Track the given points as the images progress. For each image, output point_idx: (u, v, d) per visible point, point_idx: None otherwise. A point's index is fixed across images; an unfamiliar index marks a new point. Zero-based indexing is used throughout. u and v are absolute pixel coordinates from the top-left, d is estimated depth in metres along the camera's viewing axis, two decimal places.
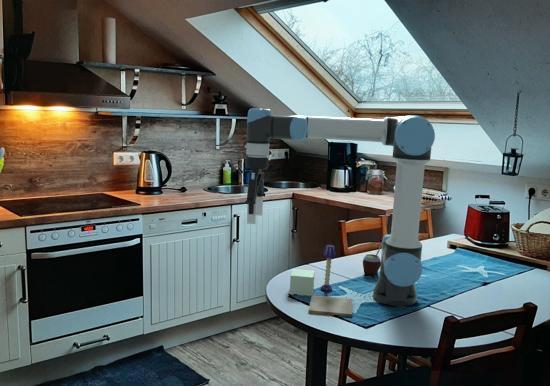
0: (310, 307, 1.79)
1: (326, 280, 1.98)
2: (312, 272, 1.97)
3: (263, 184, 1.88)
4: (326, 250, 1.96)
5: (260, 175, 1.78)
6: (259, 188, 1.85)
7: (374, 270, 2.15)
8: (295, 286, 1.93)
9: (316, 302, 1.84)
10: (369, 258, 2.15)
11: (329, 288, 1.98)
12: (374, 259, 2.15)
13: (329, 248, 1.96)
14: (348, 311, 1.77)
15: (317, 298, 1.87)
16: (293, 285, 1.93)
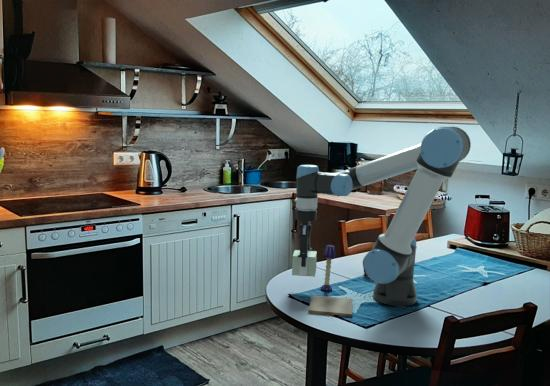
0: (310, 307, 1.79)
1: (326, 280, 1.98)
2: (314, 253, 1.95)
3: None
4: (326, 250, 1.96)
5: (309, 227, 1.91)
6: None
7: None
8: (297, 267, 1.91)
9: (316, 302, 1.84)
10: None
11: (329, 288, 1.98)
12: None
13: (329, 248, 1.96)
14: (348, 311, 1.77)
15: (317, 298, 1.87)
16: (295, 265, 1.91)
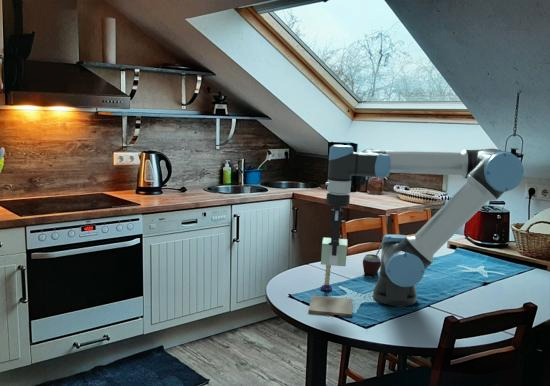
0: (310, 307, 1.79)
1: (326, 280, 1.98)
2: (345, 241, 1.80)
3: None
4: None
5: (341, 213, 1.75)
6: None
7: (374, 270, 2.15)
8: (327, 255, 1.76)
9: (316, 302, 1.84)
10: (369, 258, 2.15)
11: (329, 288, 1.98)
12: (374, 259, 2.15)
13: None
14: (348, 311, 1.77)
15: (317, 298, 1.87)
16: (325, 254, 1.76)
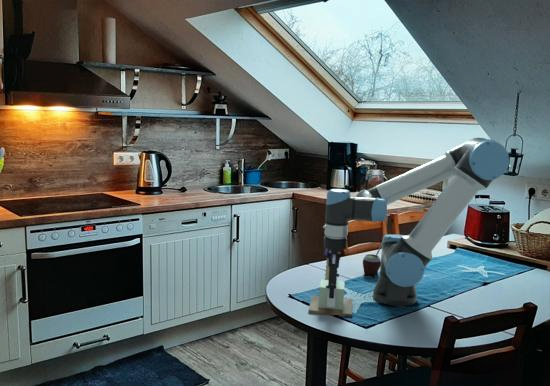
0: (310, 307, 1.79)
1: None
2: (342, 283, 1.83)
3: None
4: (326, 250, 1.96)
5: (339, 256, 1.78)
6: None
7: (374, 270, 2.15)
8: (324, 299, 1.78)
9: (316, 302, 1.84)
10: (369, 258, 2.15)
11: None
12: (374, 259, 2.15)
13: None
14: (348, 311, 1.77)
15: (317, 298, 1.87)
16: (322, 297, 1.78)
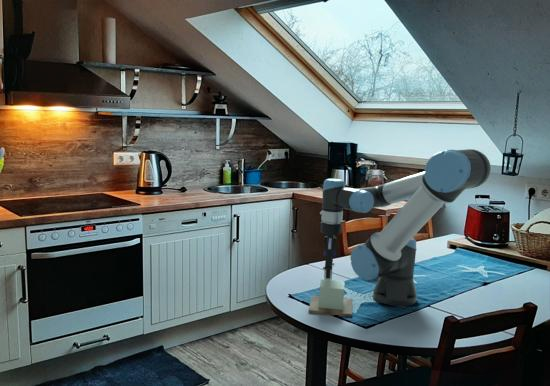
0: (310, 307, 1.79)
1: None
2: (342, 283, 1.83)
3: None
4: None
5: (334, 240, 1.94)
6: None
7: None
8: (324, 299, 1.78)
9: (316, 302, 1.84)
10: None
11: None
12: None
13: None
14: (348, 311, 1.77)
15: (317, 298, 1.87)
16: (322, 297, 1.78)
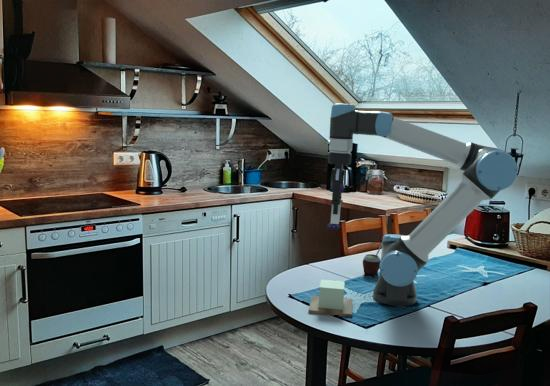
0: (310, 307, 1.79)
1: None
2: (342, 283, 1.83)
3: None
4: None
5: (343, 172, 1.75)
6: None
7: (374, 270, 2.15)
8: (324, 299, 1.78)
9: (316, 302, 1.84)
10: (369, 258, 2.15)
11: (336, 226, 1.79)
12: (374, 259, 2.15)
13: None
14: (348, 311, 1.77)
15: (317, 298, 1.87)
16: (322, 297, 1.78)
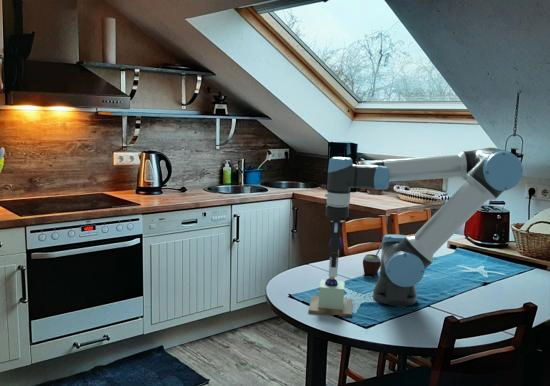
0: (310, 307, 1.79)
1: None
2: (342, 283, 1.83)
3: None
4: None
5: (341, 225, 1.76)
6: None
7: (374, 270, 2.15)
8: (324, 299, 1.78)
9: (316, 302, 1.84)
10: (369, 258, 2.15)
11: (334, 282, 1.80)
12: (374, 259, 2.15)
13: None
14: (348, 311, 1.77)
15: (317, 298, 1.87)
16: (322, 297, 1.78)
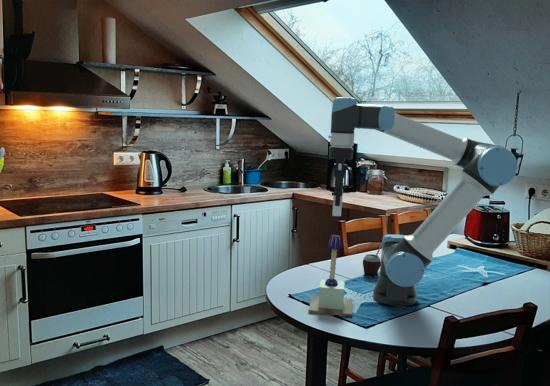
0: (310, 307, 1.79)
1: (331, 274, 1.80)
2: (342, 283, 1.83)
3: None
4: (331, 240, 1.78)
5: (345, 166, 1.73)
6: None
7: (374, 270, 2.15)
8: (324, 299, 1.78)
9: (316, 302, 1.84)
10: (369, 258, 2.15)
11: (334, 282, 1.80)
12: (374, 259, 2.15)
13: (334, 238, 1.77)
14: (348, 311, 1.77)
15: (317, 298, 1.87)
16: (322, 297, 1.78)
